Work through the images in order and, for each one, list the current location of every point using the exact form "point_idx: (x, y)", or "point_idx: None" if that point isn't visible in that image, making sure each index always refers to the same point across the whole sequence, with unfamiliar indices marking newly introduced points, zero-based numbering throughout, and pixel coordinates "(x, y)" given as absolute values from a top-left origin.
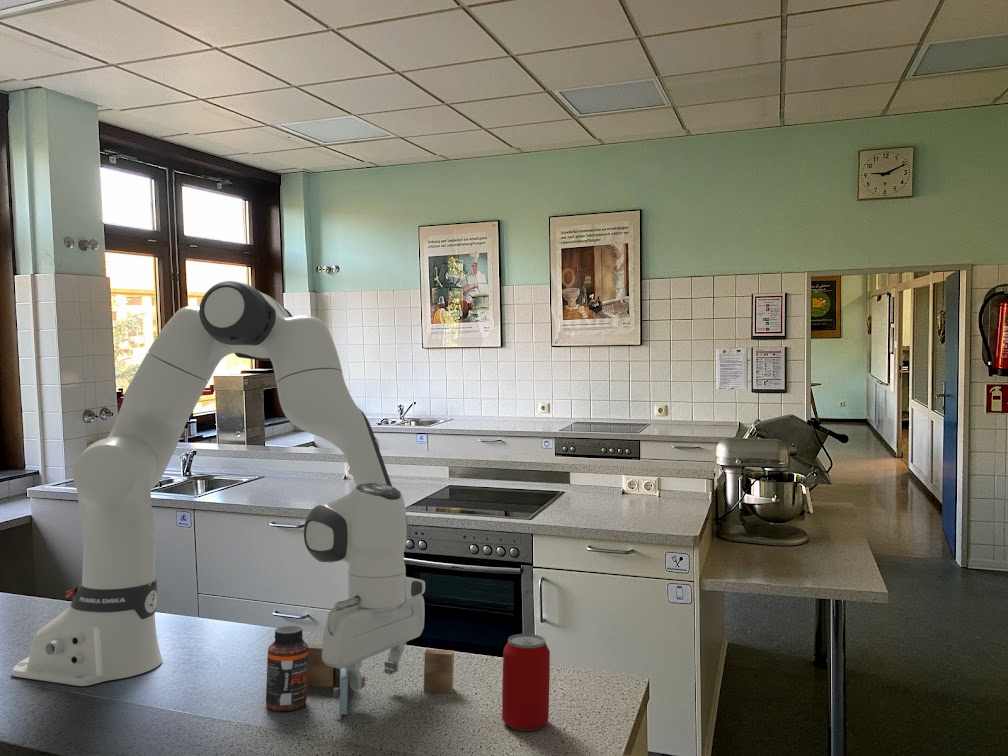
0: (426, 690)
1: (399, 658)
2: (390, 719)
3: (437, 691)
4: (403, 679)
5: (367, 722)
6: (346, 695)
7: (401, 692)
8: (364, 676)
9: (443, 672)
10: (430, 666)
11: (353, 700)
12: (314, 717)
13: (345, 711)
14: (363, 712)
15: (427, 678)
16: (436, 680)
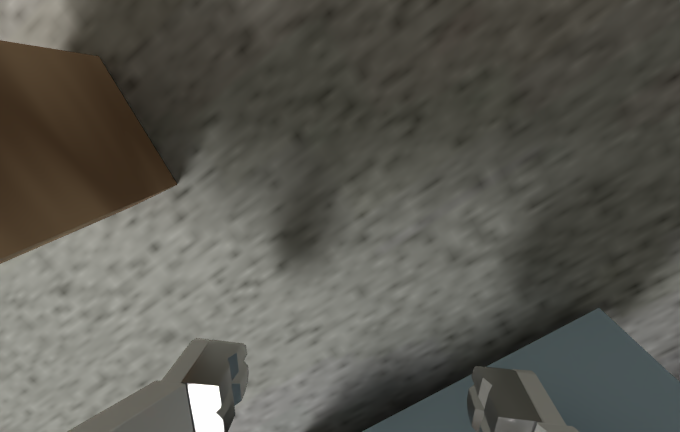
0: (166, 174)
1: (148, 392)
2: (530, 125)
3: (136, 125)
4: (142, 322)
5: (605, 198)
6: (668, 376)
7: (244, 259)
8: (503, 419)
9: (22, 97)
10: (48, 189)
11: (415, 364)
12: None
13: (608, 319)
14: (506, 273)
15: (124, 184)
16: (98, 135)
